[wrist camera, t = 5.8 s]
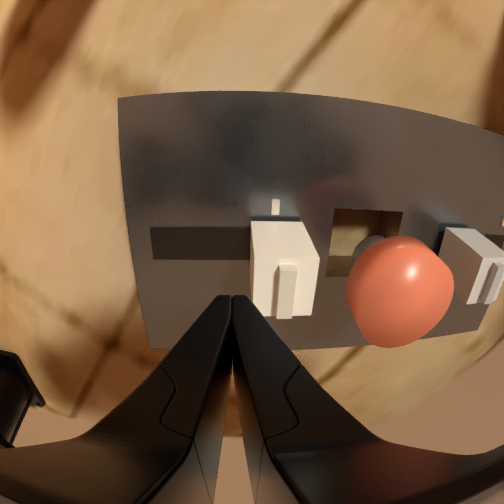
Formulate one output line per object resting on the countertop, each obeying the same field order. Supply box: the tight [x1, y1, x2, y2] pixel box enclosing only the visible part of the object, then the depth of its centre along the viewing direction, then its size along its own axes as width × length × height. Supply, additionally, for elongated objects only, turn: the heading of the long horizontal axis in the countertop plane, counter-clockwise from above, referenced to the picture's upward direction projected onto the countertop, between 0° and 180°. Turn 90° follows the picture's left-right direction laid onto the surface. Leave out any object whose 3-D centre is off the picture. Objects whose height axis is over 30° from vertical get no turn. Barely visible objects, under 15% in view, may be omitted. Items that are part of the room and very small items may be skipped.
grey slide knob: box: [438, 227, 504, 304], centre depth 12 cm, size 2×2×3 cm
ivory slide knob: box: [250, 221, 320, 319], centre depth 11 cm, size 2×2×3 cm
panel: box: [118, 91, 504, 350], centre depth 14 cm, size 12×20×2 cm, turn 88°
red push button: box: [345, 235, 454, 348], centre depth 11 cm, size 4×4×4 cm
